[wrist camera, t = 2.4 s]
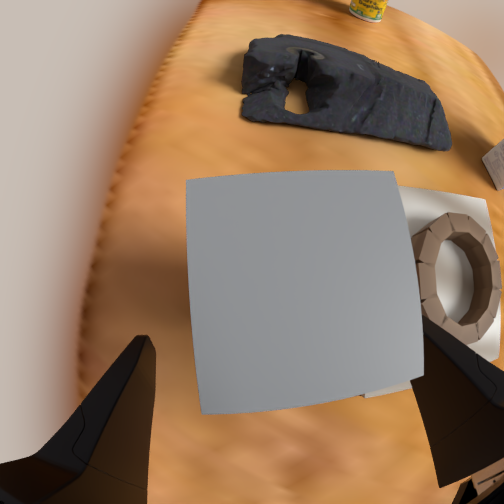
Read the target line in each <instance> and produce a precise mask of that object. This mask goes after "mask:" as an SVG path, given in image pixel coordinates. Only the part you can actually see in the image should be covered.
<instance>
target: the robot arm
mask: <svg viewBox="0 0 504 504" xmlns="http://www.w3.org/2000/svg"><path fill="white" fill-rule="evenodd" d="M422 327H423V347H424V375H423V376H420V377H418V378H415V379H412V380H410V383H411V386H412V389H413V391H414V394H415V397H416V401H417V404H418V407H419V410H420V413H421V416H422V420H423V423H424V427H425V430H426V434H427V437H428V441H429V445H430V447H431V448H430V449H431V453H432V457H433V461H434V466H435V470H436V475H437V480H438V485H439V488H442V487H444V486H447V485H449V484H452V483H454V482H457V481H459V480H461V479H463V478H466V477H468V476H471V477H470V478H469V479H467V480H466V481H464V482H463V483H461V485H460V487H459V489H458V492H457V494H456V496H455V498H454V500H453V502H452V504H504V371H502V370H501V369H499V368H498V367H496V366H495V365H493V364H491V363H490V362H489V361H487V360H486V359H485V358H483V357H482V356H480V355H479V354H478V353H476V352H475V351H474V350H472V349H471V348H469V347H468V346H467V345H465V344H464V343H463V342H461V341H460V340H458V339H457V338H456V337H454V336H453V335H451V334H450V333H449V332H447V331H446V330H444V329H443V328H442V327H440V326H439V325H437V324H436V323H434V322H433V321H432V320H430V319H429V318H427V317H426V316H424V315H423V314H422ZM155 381H156V350H155V348H154V346H153V344H152V342H151V340H150V338H149V336H148V335H137V336H135V337H134V339H133V340H132V341H131V342H130V343H129V345H128V346H127V347H126V348H125V349H124V351H123V352H122V353H121V354H120V355H119V357H118V358H117V359H116V360H115V362H114V363H113V364H112V365H111V366H110V368H109V369H108V370H107V371H106V373H105V374H104V375H103V376H102V378H101V379H100V380H99V381H98V383H97V384H96V385H95V386H94V388H93V389H92V390H91V391H90V393H89V394H88V395H87V396H86V398H85V399H84V400H83V401H82V403H81V405H79V406H78V408H77V409H76V410H75V412H74V413H73V414H72V415H71V417H70V418H69V419H68V420H67V422H66V423H65V424H64V425H63V426H62V427H61V428H60V429H59V430H58V432H56V433H55V435H54V436H53V437H52V438H51V439H50V440H49V441H48V442H47V443H46V444H45V445H44V446H43V447H42V448H41V449H40V450H39V451H38V452H37V453H35V454H33V455H32V456H29V457H26V458H22V459H18V460H14V461H10V462H6V463H1V464H0V504H147V485H148V465H149V450H150V438H151V427H152V417H153V408H154V400H155Z"/></svg>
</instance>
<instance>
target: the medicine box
mask: <svg viewBox="0 0 504 504" xmlns="http://www.w3.org/2000/svg"><path fill="white" fill-rule="evenodd" d="M482 161H483V163H484V165H485V167H486V169H487V171H488V173H489V174H490V176H491V178H492V180H493V182H494V184H495V187H496V189H497V190H498V191H499V190H501V189H503V188H504V139H503V140H502V141H501V142H499V143H498V144H497V145H496V146H495V147H494V148H492V149H491V150H490V151H489V152H488V153H487V154H486V155H484V156H483V157H482Z"/></svg>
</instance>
